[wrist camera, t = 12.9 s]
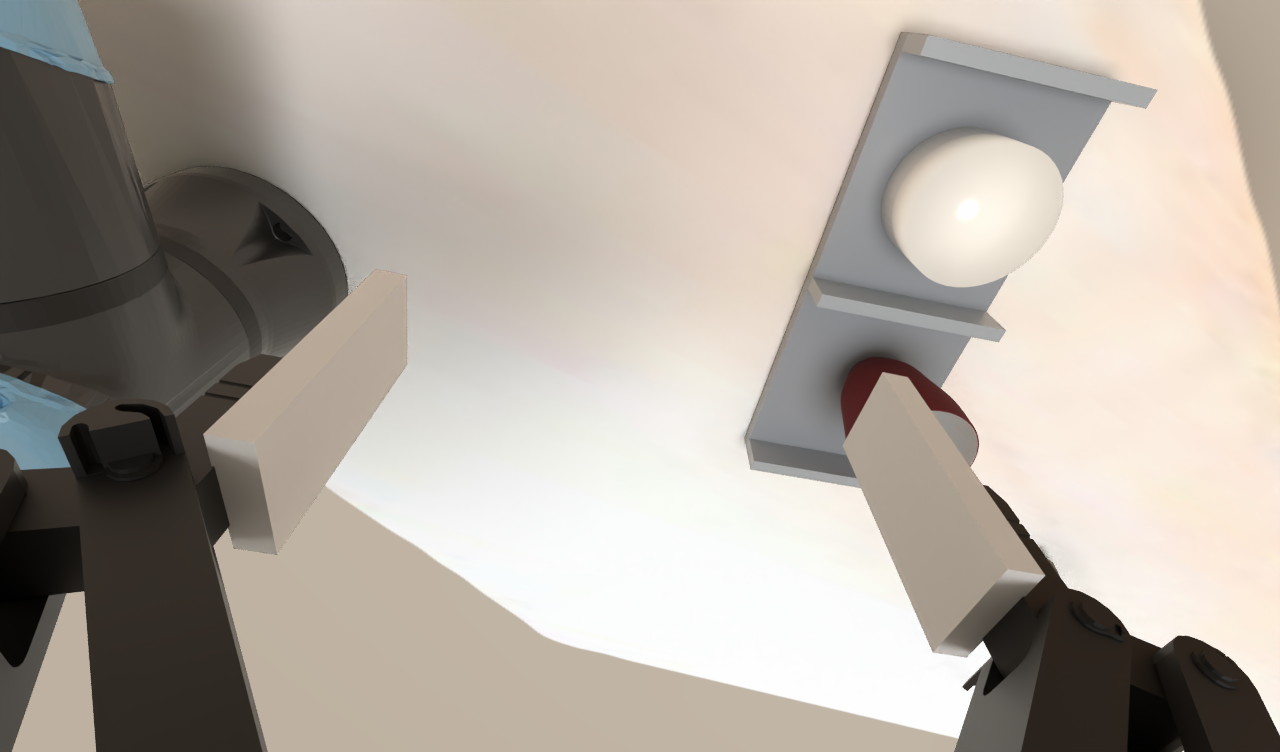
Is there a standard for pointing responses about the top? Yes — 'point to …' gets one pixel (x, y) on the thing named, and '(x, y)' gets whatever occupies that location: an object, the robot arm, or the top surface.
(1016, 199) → the white egg shape
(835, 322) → the rack
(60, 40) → the robot arm
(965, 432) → the red cup
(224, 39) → the top surface
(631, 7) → the top surface
